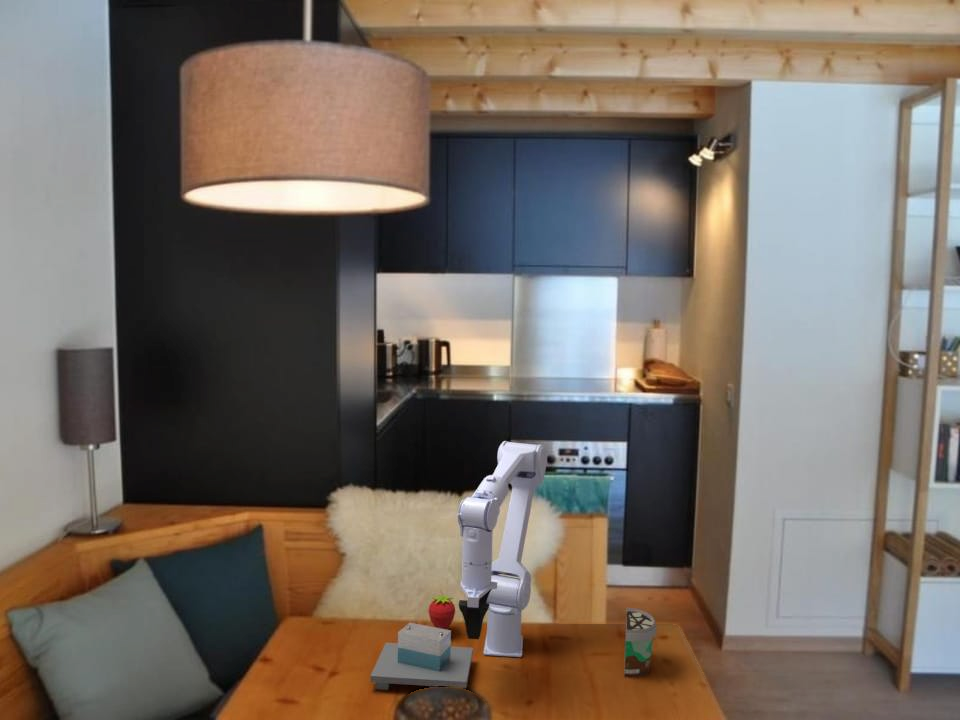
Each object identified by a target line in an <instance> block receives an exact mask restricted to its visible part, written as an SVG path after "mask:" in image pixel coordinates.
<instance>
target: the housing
mask: <svg viewBox="0 0 960 720" xmlns="http://www.w3.org/2000/svg"><path fill="white" fill-rule="evenodd" d="M451 635H452V630H449V629H447V630H446V629H441V628H436V627H435V626H429V625H426V624H425V625H424V624H419V623H414V622H408V623H407V624H406V625H405V626H403V628H401V629H399V631H398V632H397V643H398V663H403V664H407V665H412V666H417V667H421V668H426V669H430V670H435V671H439V672H440V671H441V670H442V669H443V667H444V666H445V665H446V664H447V663H448V662H449V661H450V650H451V647H452V645H451V643H452V642H451V639H452V637H451Z"/></svg>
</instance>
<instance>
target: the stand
mask: <svg viewBox="0 0 960 720" xmlns="http://www.w3.org/2000/svg"><path fill="white" fill-rule="evenodd" d="M473 652H474V648H473V647H468V646H465V647H464V646H463V647H462V646H451V650H450V661H449V662H448V663H447V664H446V665H445V666H444V667H443V669H442V670H441V671H440V672H439V671H435V670H430V669H426V668H421V667H417V666H412V665H407V664H403V663H398V642H385V644H384V646H383V647H382V651H381V652H380V654H379V657H378V659H377V661H376V663H375V666H374V668H373V669H372V671H371V674H370V678H369V679H370V681H369V682H370V683H375V690H385V691H386V690H387V691H389V688H390V687H391V684H392V685H394V684H395V685H408V686H409V685H411V686H424V687H425V686H426V687H438V686H456V687H462V688H463V689H467V686H468V680H469V675H470V669H471V664H472V658H473V655H474V653H473Z"/></svg>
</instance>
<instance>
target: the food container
mask: <svg viewBox="0 0 960 720" xmlns="http://www.w3.org/2000/svg"><path fill="white" fill-rule="evenodd" d="M625 613H626V618H625V637H624V639H625V641H624V673H623V674H624V675H623V677H624V678H639V677H643V676H645V675H647V674H649V673H650V666H651V658H652V650H653V649H652V648H653V642H654V641H653V640H654V638H655V637H656V635H657V634H658V628H657V624H656V621H655V618H654V617H653V616H652V615H651V614H649V613H647V612H646V611H643V610H640V609H637V608H631V607H626V611H625Z"/></svg>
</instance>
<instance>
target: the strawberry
mask: <svg viewBox="0 0 960 720" xmlns="http://www.w3.org/2000/svg"><path fill="white" fill-rule="evenodd" d="M438 591H439V592H440V593H441V594H442V595H441V597H438V596H432V597H431V596H429V599H432V600H433V601H432V602H431V603H429V606H428V615H429V620H430V622H431V624H432V625H433V627H436V628H441V629H446V630H449V628H450V626H451V624H452V622H453V621H454V617H455V614H456V607H455V603H453V601H452V600H453V599H454V598H453V597H448V596H446V594H444V593H443V592H442V591H441V590H440V589H438Z"/></svg>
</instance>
